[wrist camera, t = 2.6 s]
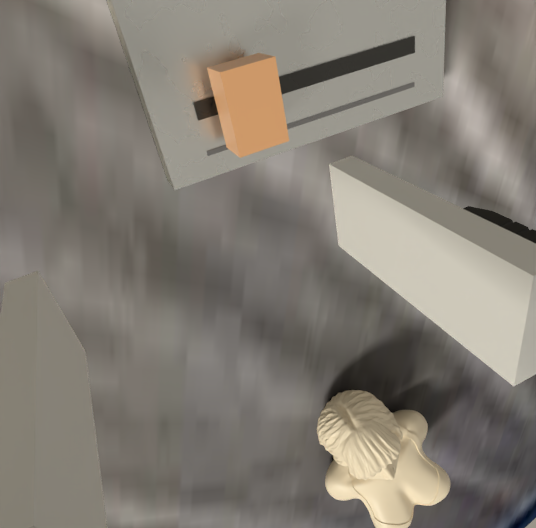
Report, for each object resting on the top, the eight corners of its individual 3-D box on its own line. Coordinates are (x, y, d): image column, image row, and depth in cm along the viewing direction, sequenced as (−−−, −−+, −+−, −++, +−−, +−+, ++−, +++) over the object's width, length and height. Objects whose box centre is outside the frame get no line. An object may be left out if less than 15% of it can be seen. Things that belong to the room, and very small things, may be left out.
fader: (222, 144, 27) (240, 157, 24) (202, 65, 24) (220, 72, 22) (267, 129, 27) (289, 140, 25) (253, 51, 25) (275, 56, 22)
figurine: (381, 561, 49) (314, 516, 36) (335, 487, 56) (265, 427, 43) (475, 484, 50) (443, 411, 37) (418, 420, 57) (374, 340, 44)
